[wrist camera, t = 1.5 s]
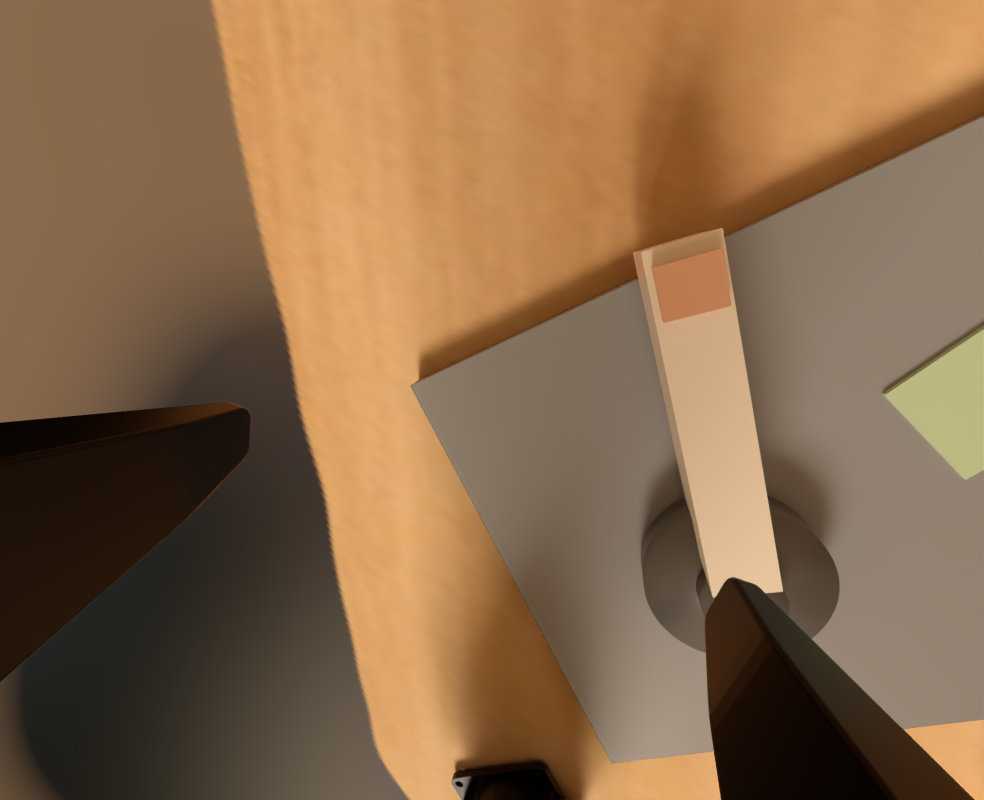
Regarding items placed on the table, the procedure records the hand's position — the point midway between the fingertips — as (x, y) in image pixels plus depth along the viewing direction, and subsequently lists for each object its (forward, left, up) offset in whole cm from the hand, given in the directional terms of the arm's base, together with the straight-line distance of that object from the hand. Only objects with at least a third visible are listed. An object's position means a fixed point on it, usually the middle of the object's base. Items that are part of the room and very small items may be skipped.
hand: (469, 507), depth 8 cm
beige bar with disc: (+4, -6, -11) cm, 14 cm away
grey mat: (+5, -10, -13) cm, 17 cm away
